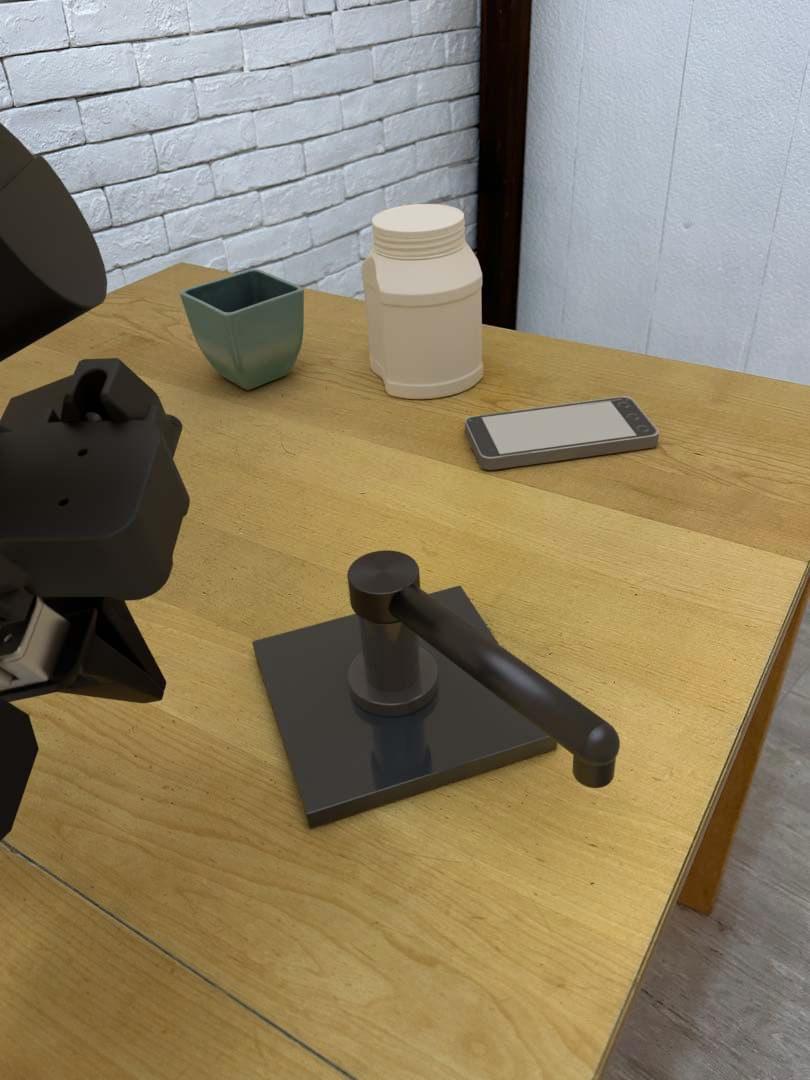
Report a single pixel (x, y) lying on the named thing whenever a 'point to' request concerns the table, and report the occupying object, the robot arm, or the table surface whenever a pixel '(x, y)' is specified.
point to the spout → (483, 661)
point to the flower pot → (247, 325)
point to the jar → (423, 302)
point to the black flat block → (384, 713)
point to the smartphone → (559, 432)
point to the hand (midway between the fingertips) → (156, 693)
